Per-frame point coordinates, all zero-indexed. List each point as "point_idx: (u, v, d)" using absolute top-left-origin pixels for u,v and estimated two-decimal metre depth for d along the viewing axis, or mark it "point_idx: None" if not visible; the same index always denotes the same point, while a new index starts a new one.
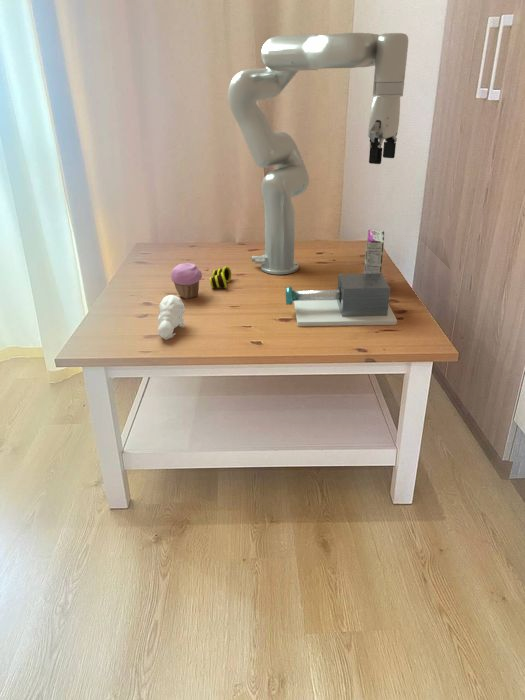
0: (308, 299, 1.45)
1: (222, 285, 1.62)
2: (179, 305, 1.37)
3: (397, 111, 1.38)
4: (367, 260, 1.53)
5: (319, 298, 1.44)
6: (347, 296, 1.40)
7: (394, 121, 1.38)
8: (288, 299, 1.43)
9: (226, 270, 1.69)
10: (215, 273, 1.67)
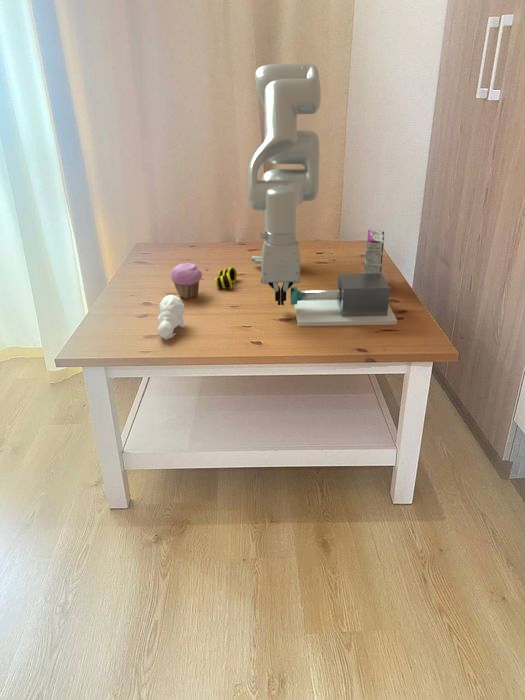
0: (313, 299, 1.45)
1: (228, 285, 1.62)
2: (179, 305, 1.37)
3: None
4: (367, 260, 1.53)
5: (324, 298, 1.44)
6: (347, 296, 1.40)
7: None
8: (293, 299, 1.43)
9: (231, 270, 1.69)
10: (221, 273, 1.67)
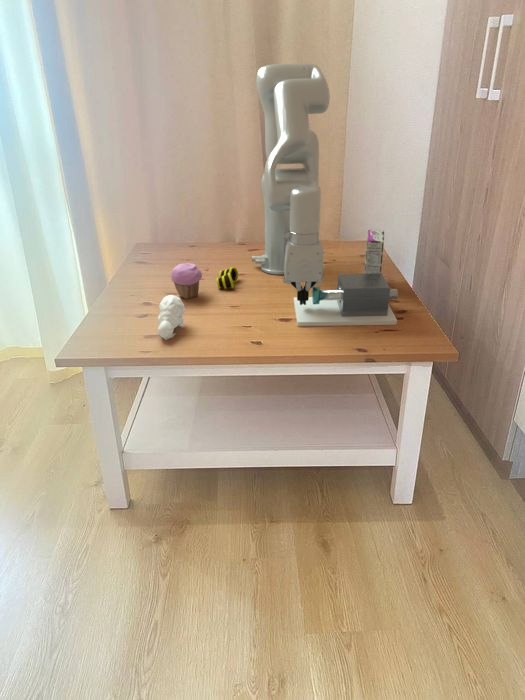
0: (335, 299, 1.45)
1: (229, 285, 1.62)
2: (179, 305, 1.37)
3: None
4: (367, 260, 1.53)
5: None
6: (347, 296, 1.40)
7: None
8: (315, 299, 1.43)
9: (233, 270, 1.69)
10: (222, 273, 1.67)
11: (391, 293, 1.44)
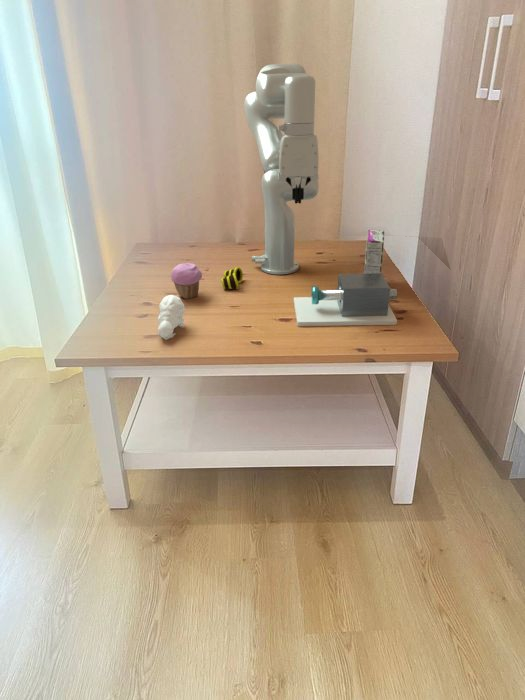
0: (334, 299, 1.45)
1: (234, 286, 1.62)
2: (179, 305, 1.37)
3: None
4: (367, 260, 1.53)
5: None
6: (347, 296, 1.40)
7: None
8: (314, 299, 1.43)
9: (237, 271, 1.68)
10: (227, 274, 1.67)
11: (390, 293, 1.44)
